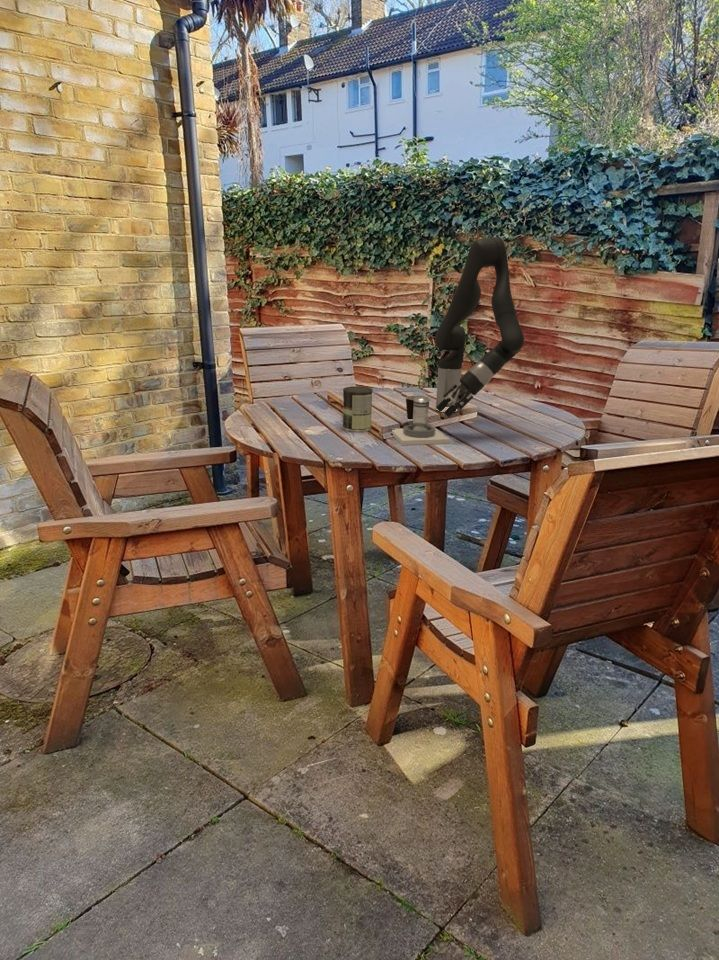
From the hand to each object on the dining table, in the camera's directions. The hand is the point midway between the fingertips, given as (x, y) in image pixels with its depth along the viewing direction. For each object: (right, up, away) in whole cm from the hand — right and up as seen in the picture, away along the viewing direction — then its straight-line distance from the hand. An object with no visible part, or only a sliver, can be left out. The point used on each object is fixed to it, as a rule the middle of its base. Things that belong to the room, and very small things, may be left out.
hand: (442, 412), depth 227 cm
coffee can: (-29, -5, +12) cm, 32 cm away
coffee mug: (-6, -3, +20) cm, 21 cm away
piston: (-8, -7, +1) cm, 10 cm away
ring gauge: (-8, -9, +1) cm, 12 cm away
